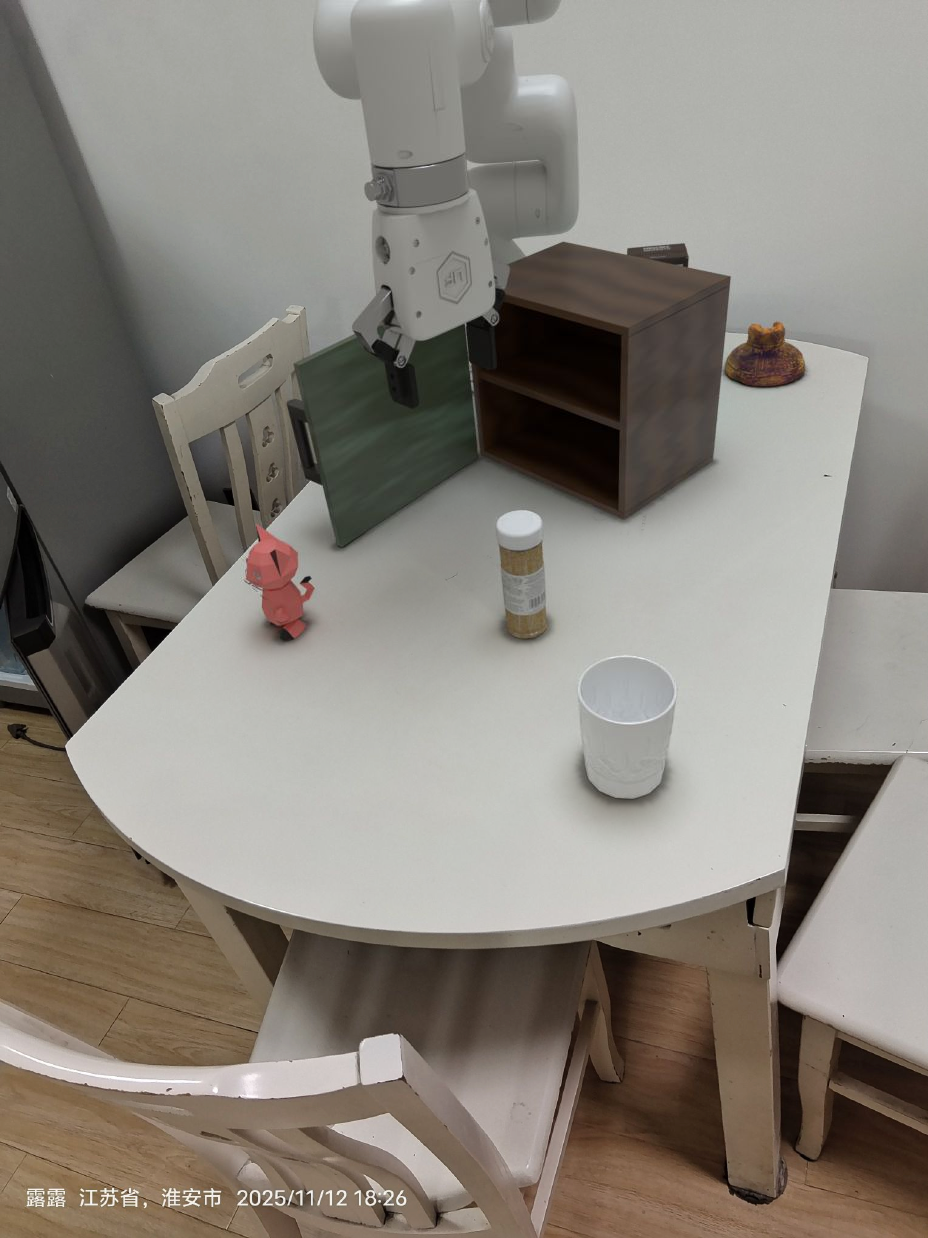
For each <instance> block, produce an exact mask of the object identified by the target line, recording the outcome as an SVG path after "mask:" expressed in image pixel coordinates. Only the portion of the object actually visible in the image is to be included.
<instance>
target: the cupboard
mask: <svg viewBox="0 0 928 1238" xmlns="http://www.w3.org/2000/svg"><path fill="white" fill-rule="evenodd" d="M507 265H508V266H509V267H510V273H509V277H508V281H507V285H506V289H505V288H504V291H505V299H504V301H503V303H502V305H501V307H500V309H499V311H498V314H499V321H498V323H497V324H496V325H495V326H493V327H494V335H495V348H496V360H497V367H496V368H495V369H493V370H489V369H486V368H483V367H480V366H477V365H474V364H471V363H470V366H471V372H472V378H473V388H474V392H473V396H474V407H475V416H476V417H475V418H476V427H477V437H478V449H479V454H480V456H481V457H484V458H486V459H488V460H490V461H493V462H495V463H496V464H499V465H502V466H504V467H506V468H508V469H510V470H512V471H515V472H517V473H519V474H522V475H524V476H526V477H528V478H531V479H533V480H535V481H537V482H540V483H542V484H544V485H546V486H549V487H551V488H553V489H554V490H557V491H559V492H561V493H563V494H565V495H568V496H570V497H573V498H575V499H577V500H579V501H581V502H583V503H585V504H588V505H590V506H593V507H594V508H596V509H599V510H602V511H604V512H605V513H608V514H610V515H612V516H615V517H617V518H619V519H621V520H624V521H625V520H627V519H628V518H629V517H631V516H633V515H635V514H636V513H637V512H639V511H640V510H642V509H643V508H645V507H646V506H647V505H650V504H651V503H652V502H654V501H655V500H657V499H659V498H660V497H662V496H663V495H664V494H666V493H667V492H669V491H670V490H672V489H674V488H675V487H676V486H678V485H680V484H681V483H683V482H684V481H685V480H687V479H688V478H690V477H691V476H693V475H695V474H696V473H697V472H700V471H701V470H702V469H703V468H705V467H707V466H708V465H710V464H711V463H713V462H714V454H715V446H716V445H715V444H716V435H717V425H718V424H717V423H718V415H719V405H720V404H719V403H720V394H721V393H720V392H721V383H722V371H723V362H724V352H725V341H726V330H727V320H728V309H729V302H730V301H729V300H730V291H731V290H730V289H731V280H732V279H731V278H732V276H731V275H726V274H721V273H717V272H711V271H707V270H702V269H697V268H692V267H689V266H688V267H684V266H679V265H674V264H669V263H664V262H659V261H655V260H650V259H645V258H640V257H635V256H630V255H627V253H626V254H625V253H620V252H615V251H611V250H606V249H602V248H596V247H592V246H587V245H582V244H577V243H573V242H568V241H561V242H558V243H556V244H553V245H551V246H549V247H547V248H544V249H542V250H538V251H536V252H534V253H532V254H529V255H526V257H524V258H522V259H519V260H517V261H514V262H512V263H509V264H507ZM471 321H472V320H471Z"/></svg>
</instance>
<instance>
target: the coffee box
mask: <svg viewBox="0 0 928 1238" xmlns="http://www.w3.org/2000/svg"><path fill="white" fill-rule="evenodd" d="M626 249H627V250H626V255H630V256H635V257H640V258H645V259H650V260H655V261H659V262H664V263H669V264H674V265H679V266H684V267H688V268H689V264H690V263H689V261H690V256H689V252H688V249H687V246H686V243H685V242H682V243H671V244H660V245H659V244H658V245H647V246H646V245H645V246H636V247H635V246H634V247H627V248H626Z"/></svg>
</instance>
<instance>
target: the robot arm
mask: <svg viewBox="0 0 928 1238" xmlns="http://www.w3.org/2000/svg"><path fill="white" fill-rule="evenodd" d="M561 1H562V0H317V1H316V6H315V11H314V15H313V24H312V25H313V26H312V41H313V52H314V56H315V61H316V64H317V67H318V70H319V72H320V75H321V77H322V79H323V80H324V82H325V84H326V85H327V86H328V88H329V89H330V90H331V91H332V92H333V93H334V94H336V95H337V96H339V97H340V98H344V99H346V100H347V99H348V100H354V101H355V100H357V101H358V100H359V101H361V108H362V113H363V114H362V115H363V120H364V127H365V133H366V140H367V146H368V154H369V160H370V169H371V170H370V171H371V174H372V175H371V177H372V180H371V181H368V182H366V183H365V184H364V186H363V187H364V188H363V189H364V194H365V198H367V199H368V201H369V202H373V201H376V207H377V208H375V209H373V210H372V220H371V252H372V268H373V269H372V271H373V279H374V288H375V296H374V297H373V298H372V299H371V301H370V302H369V303H368V304H367V305H366V307H364V309H363V310H362V311H361V312H360V314H359V315H358V316H357V318H356V319H355V320H354V321H353V323H352V325H351V331H352V332H353V334H355V335H356V336H357V337H358V339H359V340H360V341H361V343H362V344H363V345H364V348H365V350H366V351H368V352H369V353H371V354H372V355H374V356H375V357H377V358H378V360H380V361H382V362H384V363H385V369H386V375H387V381H388V387H389V392H390V395H391V397H392V400H393V401H394V402H396V403H399V404H401V405H404V406H406V407H409V408H411V409H414V408H416V407H418V405H419V397H418V390H417V383H416V376H415V369H414V366H413V365H412V364H410V363H407V361H408V359H409V356H410V354H411V351H412V349H413V346H414V344H415V341H416V340H419V341H423V340H427V339H430V338H433V337H435V336H438V335H440V334H442V333H444V332H447V331H449V330H451V329H453V328H456V327H458V326H460V325H462V324H465V329H466V339H467V349H468V359H469V364H470V365H471V364H474V365H477V366H480V367H483V368H486V369H489V370H493V369H495V368H496V367H497V360H496V348H495V335H494V327H493V326H495V325H496V324H497V323H498V321H499V314H498V311H499V309H500V307H501V305H502V303H503V301H504V299H505V291H504V288H505V289H506V285H507V281H508V277H509V273H510V267H509V266H508V265H507V264H509V263H512V262H514V261H517V260H519V259H522V258H524V257H527V255H526V254H525V252H524V251H523V250H522V249H521V248H520V246H519V245H518V244H517V243H516V242H515V241H514V240H515V239H520V238H535V237H547V236H556V235H562V234H565V233H567V232H570V231H571V230H572V229H573V228H574V226H575V224H576V223H577V220H578V217H579V211H580V174H579V173H580V172H579V171H580V170H579V169H580V168H579V133H578V113H577V102H576V97H575V93H574V91H573V88H572V86H571V84H570V82H569V81H568V80H567V79H566V78H565V77H563V76H562V75H559V74H554V73H552V74H551V73H545V74H533V75H522V76H519V75H517V73H516V69H515V53H514V39H513V36H512V32H511V30H510V27H514V26H522V25H533V24H539V23H544V22H545V21H548V20H549V19H551V18H552V17H553V16H554V15H555V14H556V12H557V11H558V10H559V7H560V4H561ZM467 162H470V163H473V164H480V165H477V166H475V167H471V168H469V169H468V163H467ZM481 164H482V165H481ZM471 320H472V321H471ZM381 322H382V325H383V327H384V329H385V330H386V331H385V333H384V336H383V338H382V340H381V338H380V337H379V334H378V332H377V328H378V326H379V324H380V323H381ZM399 335H400V336H402V337H401V339H400V342H399V344H398V347H397V349H394V348H395V345H396V343H397V340H398V337H399ZM470 379H471V388H472V393H474V388H473V378H472V371H470Z"/></svg>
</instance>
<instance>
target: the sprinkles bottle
mask: <svg viewBox="0 0 928 1238" xmlns="http://www.w3.org/2000/svg"><path fill="white" fill-rule="evenodd" d="M495 534H496V535H495V536H496V542H497V544H498V547H499V557H500V558H499V559H500V575H501V576H500V577H501V586H502V596H503V605H504V610H505V628H506V631H507V632H508V633H509V634H510V635H511V636H513V637H514V638H517V639H533V638H537V637H538V636H540V635H541V634H543V633H544V632H545V631H546V630H547V628H548V624H549V621H548V617H547V606H546V605H547V590H546V572H545V570H546V569H545V560H544V551H543V541H544V540H543V539H544V524H543V520H542V518H541V516H540V515H539V514H537V513H536V512H533V511H530V510H526V509H525V510H524V509H517V510H512V511H508V512H506V513H504V514H502V515H501V516H500V517H499V518H497V521H496V523H495Z"/></svg>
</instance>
